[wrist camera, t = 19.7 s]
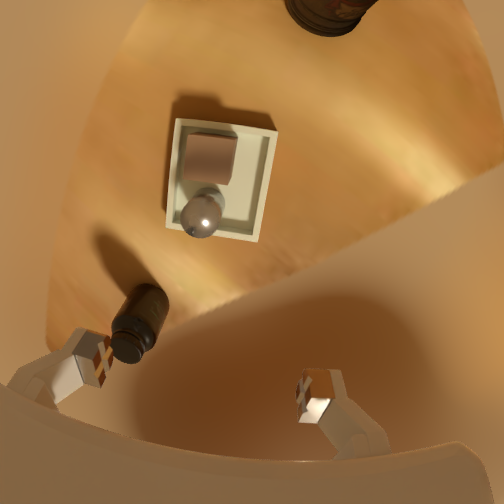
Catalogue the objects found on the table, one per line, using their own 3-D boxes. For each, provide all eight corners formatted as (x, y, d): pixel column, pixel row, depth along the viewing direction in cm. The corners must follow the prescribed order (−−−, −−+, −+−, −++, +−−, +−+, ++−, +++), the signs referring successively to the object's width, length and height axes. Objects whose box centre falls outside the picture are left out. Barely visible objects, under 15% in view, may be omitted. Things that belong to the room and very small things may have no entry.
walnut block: (197, 131, 34) (187, 134, 29) (238, 137, 34) (234, 140, 29) (192, 170, 36) (182, 179, 31) (231, 176, 36) (227, 185, 32)
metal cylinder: (193, 185, 37) (181, 197, 31) (227, 189, 37) (221, 203, 31) (189, 217, 39) (178, 234, 33) (222, 222, 39) (216, 240, 33)
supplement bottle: (135, 316, 47) (109, 365, 36) (126, 281, 44) (95, 329, 33) (173, 318, 47) (153, 372, 36) (166, 283, 44) (142, 334, 33)
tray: (181, 118, 34) (175, 118, 32) (277, 131, 34) (278, 131, 32) (170, 221, 40) (165, 227, 38) (257, 235, 40) (257, 242, 38)
